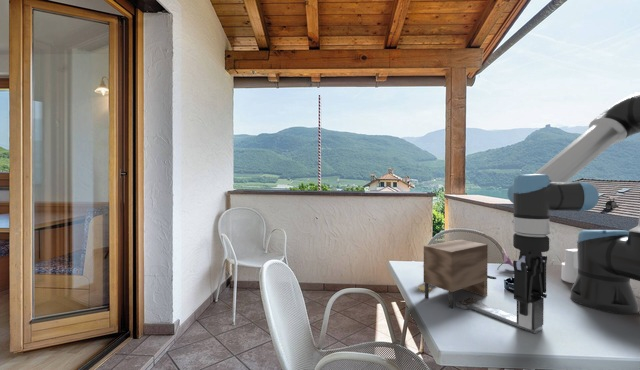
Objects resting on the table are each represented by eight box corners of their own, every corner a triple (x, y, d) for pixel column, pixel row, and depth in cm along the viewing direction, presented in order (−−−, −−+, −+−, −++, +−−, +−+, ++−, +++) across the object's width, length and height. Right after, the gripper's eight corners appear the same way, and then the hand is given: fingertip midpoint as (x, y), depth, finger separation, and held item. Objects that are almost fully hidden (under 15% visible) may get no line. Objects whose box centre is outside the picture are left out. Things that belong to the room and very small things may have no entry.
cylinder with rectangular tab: (581, 286, 105) (582, 253, 105) (555, 278, 114) (555, 248, 114) (598, 283, 108) (599, 251, 108) (572, 276, 117) (572, 246, 116)
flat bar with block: (545, 327, 75) (546, 296, 75) (531, 335, 71) (531, 303, 71) (471, 300, 92) (471, 275, 92) (456, 305, 88) (456, 279, 88)
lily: (509, 278, 117) (523, 259, 115) (482, 261, 126) (495, 242, 125) (519, 281, 124) (532, 263, 122) (493, 264, 133) (505, 247, 132)
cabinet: (487, 294, 97) (487, 244, 97) (451, 308, 87) (451, 252, 86) (459, 285, 106) (459, 239, 106) (423, 297, 95) (423, 245, 95)
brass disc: (433, 290, 102) (433, 287, 102) (426, 293, 99) (426, 290, 99) (422, 287, 105) (422, 284, 105) (416, 290, 102) (416, 286, 102)
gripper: (530, 229, 83) (529, 310, 83) (497, 235, 73) (496, 327, 73) (562, 232, 76) (562, 320, 77) (531, 240, 67) (531, 340, 67)
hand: (530, 323), depth 75 cm, fingers closed on flat bar with block, 5 cm apart
